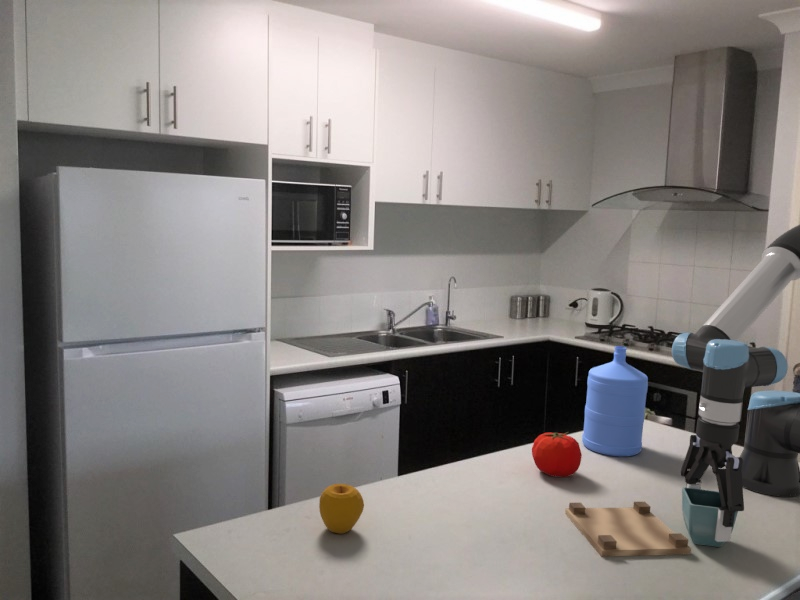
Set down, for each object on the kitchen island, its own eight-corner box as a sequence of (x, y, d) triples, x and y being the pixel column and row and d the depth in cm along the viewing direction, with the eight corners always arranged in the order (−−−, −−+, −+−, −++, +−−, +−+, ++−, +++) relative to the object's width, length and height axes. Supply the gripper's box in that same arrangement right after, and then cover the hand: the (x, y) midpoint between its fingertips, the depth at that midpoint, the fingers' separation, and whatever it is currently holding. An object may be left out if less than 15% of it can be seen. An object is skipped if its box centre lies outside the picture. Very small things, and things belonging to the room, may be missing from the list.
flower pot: (733, 554, 134) (739, 510, 133) (685, 547, 136) (690, 504, 134) (722, 533, 142) (727, 492, 141) (676, 527, 144) (681, 486, 143)
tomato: (586, 472, 172) (589, 432, 171) (570, 487, 163) (574, 444, 161) (540, 461, 179) (543, 422, 177) (522, 474, 169) (526, 433, 168)
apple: (368, 524, 139) (370, 482, 137) (351, 543, 131) (353, 498, 130) (329, 516, 141) (331, 474, 140) (310, 534, 133) (312, 490, 132)
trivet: (644, 512, 151) (645, 500, 150) (690, 554, 133) (692, 540, 133) (565, 513, 148) (566, 501, 148) (601, 556, 131) (602, 542, 130)
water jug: (632, 462, 181) (643, 356, 177) (573, 448, 189) (582, 347, 186) (647, 446, 194) (657, 347, 190) (592, 434, 202) (600, 339, 198)
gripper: (669, 402, 146) (659, 502, 149) (737, 439, 124) (722, 556, 127) (703, 402, 147) (691, 502, 150) (775, 439, 125) (760, 555, 128)
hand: (705, 527), depth 139 cm, fingers closed on flower pot, 10 cm apart
